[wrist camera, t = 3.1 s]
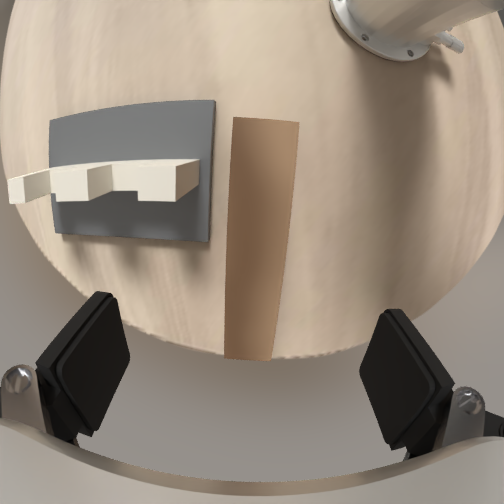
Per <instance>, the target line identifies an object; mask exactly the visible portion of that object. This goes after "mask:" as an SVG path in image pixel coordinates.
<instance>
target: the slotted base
mask: <svg viewBox="0 0 504 504" xmlns="http://www.w3.org/2000/svg"><path fill="white" fill-rule="evenodd" d="M215 106H216V102H215V101H214V100H185V101H166V102H153V103H142V104H133V105H125V106H118V107H111V108H105V109H99V110H94V111H89V112H83V113H79V114H74V115H70V116H65V117H61V118H57V119H53V120H50V126H49V168H48V169H44V170H40V171H36V172H32V173H29V174H25V175H21V176H18V177H14V178H11V179H8V192H9V202H10V204H17V203H27V202H29V201H32V200H34V199H37V198H39V197H42V196H45V195H47V194H50V193H51V202H52V211H53V220H54V227H55V233H61V234H80V235H98V236H116V237H133V238H150V239H167V240H183V241H199V242H208V241H209V239H210V205H211V176H212V154H213V136H214V120H215Z"/></svg>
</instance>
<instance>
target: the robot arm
mask: <svg viewBox="0 0 504 504" xmlns="http://www.w3.org/2000/svg"><path fill="white" fill-rule="evenodd" d="M330 5H331V10H332V12H333V14H334V17H335V19H336V20H337V22H338V23H339V25H340V26H341V28H342V29H343V30H344V31H345V32H346V33H347V34H348V35H349V36H350V37H351V38H352V39H353V40H354V41H355V42H356V43H358V44H359V45H361V46H362V47H363V48H365V49H366V50H368V51H370V52H372V53H373V54H375V55H377V56H380V57H382V58H385V59H388V60H392V61H399V62H407V61H413V60H415V59H418V58H420V57H422V56H423V55H425V54H426V52H427V51H428V50H429V48H430V46H431V43H433V42H434V43H436V44H438V45H439V44H443V45H445V46H446V47H448V48H449V49H451V50H453V51H455V52H456V53H462V51H463V49H464V44H463V42H462V41H460V40H459V39H457V38H455V37H454V36H452V35H450V34H447V33H445V30H448V31H451V30H452V28H453V27H455V26H457V25H460V24H462V23H465V22H467V21H470V20H472V19H475V18H478V17H481V16H483V15H486V14H489V13H492V12H495V11H499V10H502V9H504V0H330ZM129 361H130V353H129V349H128V346H127V342H126V338H125V334H124V330H123V325H122V321H121V316H120V311H119V307H118V302H117V299H116V298H114V297H113V295H112V294H111V293H107V292H100V291H96V292H95V293H94V294H93V295H92V296H91V297H90V298H89V299H88V301H87V302H86V303H85V304H84V305H83V306H82V307H81V308H80V309H79V311H78V312H77V313H76V314H75V315H74V316H73V317H72V319H71V320H70V321H69V322H68V323H67V324H66V325H65V327H64V328H63V329H62V330H61V331H60V333H59V334H58V335H57V336H56V337H55V339H54V340H53V341H52V342H51V343H50V345H49V346H48V347H47V349H46V350H45V351H44V352H43V354H42V355H41V356H40V357H39V359H38V360H37V361H36V365H37V369H36V370H34V369H33V368H32V367H30V366H29V365H24V364H22V365H16V366H13V367H11V368H10V369H9V370H7V371H6V373H5V374H4V375H3V378H2V381H1V387H0V504H504V418H503V417H500V416H498V415H495V414H492V413H490V412H488V411H485V402H484V399H483V397H482V396H481V395H480V393H479V392H477V391H476V390H475V389H473V388H471V387H466V386H464V387H459V388H457V389H456V390H455V391H454V392H453V391H452V387H453V386H454V384H455V383H454V381H453V379H452V378H451V377H450V375H449V373H448V372H447V371H446V369H445V368H444V366H443V365H442V363H441V362H440V360H439V359H438V358H437V356H436V355H435V353H434V352H433V351H432V349H431V348H430V346H429V345H428V344H427V342H426V341H425V340H424V338H423V337H422V336H421V334H420V333H419V332H418V330H417V329H416V328H415V326H414V325H413V324H412V322H411V321H410V320H409V318H408V317H407V316H406V315H405V313H404V312H403V311H402V310H401V309H387V310H385V311H384V313H382V314H381V315H380V316H379V319H378V322H377V325H376V327H375V330H374V333H373V336H372V338H371V341H370V343H369V346H368V349H367V351H366V354H365V356H364V358H363V361H362V363H361V366H360V370H359V372H360V377H361V379H362V382H363V384H364V387H365V389H366V392H367V395H368V397H369V400H370V402H371V405H372V408H373V410H374V413H375V416H376V418H377V421H378V424H379V427H380V429H381V432H382V435H383V438H384V440H385V442H386V443H387V444H389V445H390V448H391V450H396V449H399V448H403V447H405V446H406V449H407V452H406V454H405V457H404V459H403V461H402V462H399V463H395V464H392V465H388V466H385V467H381V468H376V469H372V470H368V471H364V472H358V473H354V474H349V475H342V476H336V477H329V478H322V479H313V480H302V481H287V482H235V481H221V480H209V479H201V478H193V477H186V476H180V475H174V474H169V473H164V472H159V471H154V470H150V469H145V468H141V467H138V466H134V465H130V464H127V463H123V462H120V461H116V460H113V459H110V458H107V457H104V456H101V455H99V454H95V453H93V452H90V451H87V450H85V449H82V448H80V446H79V444H78V441H77V438H76V437H77V434H78V432H79V433H82V434H85V435H87V436H90V437H92V435H93V433H94V431H97V430H98V429H99V427H100V425H101V423H102V421H103V418H104V416H105V414H106V411H107V409H108V407H109V405H110V402H111V400H112V398H113V396H114V394H115V392H116V389H117V387H118V385H119V383H120V381H121V379H122V377H123V375H124V372H125V370H126V368H127V366H128V364H129Z"/></svg>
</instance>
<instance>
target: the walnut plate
mask: <svg viewBox="0 0 504 504" xmlns="http://www.w3.org/2000/svg"><path fill="white" fill-rule="evenodd" d="M298 133H299V122H291V121H282V120H271V119H259V118H242V117H233V130H232V145H231V162H230V180H229V200H228V222H227V249H226V282H225V333H224V358H227V359H241V360H258V361H271V357H272V350H273V344H274V338H275V331H276V324H277V318H278V311H279V304H280V297H281V289H282V282H283V275H284V267H285V259H286V251H287V243H288V234H289V226H290V217H291V208H292V198H293V189H294V178H295V168H296V157H297V146H298Z"/></svg>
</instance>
